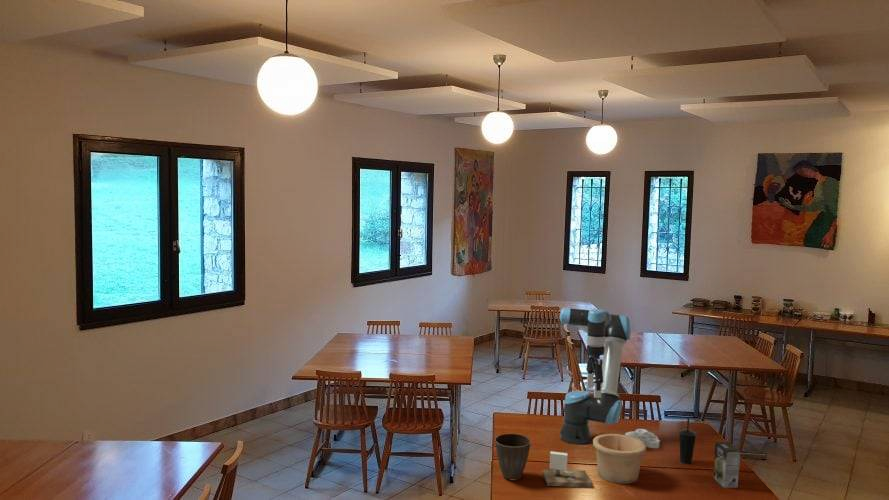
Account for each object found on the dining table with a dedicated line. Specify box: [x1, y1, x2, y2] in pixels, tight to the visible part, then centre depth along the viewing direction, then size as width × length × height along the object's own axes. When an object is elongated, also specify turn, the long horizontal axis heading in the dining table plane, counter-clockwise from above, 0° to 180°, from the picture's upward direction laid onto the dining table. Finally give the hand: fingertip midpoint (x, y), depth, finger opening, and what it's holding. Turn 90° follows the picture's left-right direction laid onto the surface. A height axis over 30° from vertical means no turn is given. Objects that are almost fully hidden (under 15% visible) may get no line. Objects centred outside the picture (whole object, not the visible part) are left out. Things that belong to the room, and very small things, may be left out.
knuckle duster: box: [624, 428, 661, 449], centre depth 318 cm, size 3×18×15 cm
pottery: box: [592, 433, 647, 485], centre depth 277 cm, size 22×22×14 cm
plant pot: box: [494, 433, 532, 481], centre depth 273 cm, size 15×15×16 cm
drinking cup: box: [678, 418, 697, 465], centre depth 293 cm, size 8×8×20 cm
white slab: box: [549, 451, 575, 477], centre depth 270 cm, size 2×11×9 cm, turn 75°
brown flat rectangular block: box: [542, 469, 592, 489], centre depth 271 cm, size 18×12×2 cm, turn 91°
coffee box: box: [713, 441, 741, 489], centre depth 272 cm, size 9×6×16 cm
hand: (593, 392), depth 285 cm, fingers open, 13 cm apart
